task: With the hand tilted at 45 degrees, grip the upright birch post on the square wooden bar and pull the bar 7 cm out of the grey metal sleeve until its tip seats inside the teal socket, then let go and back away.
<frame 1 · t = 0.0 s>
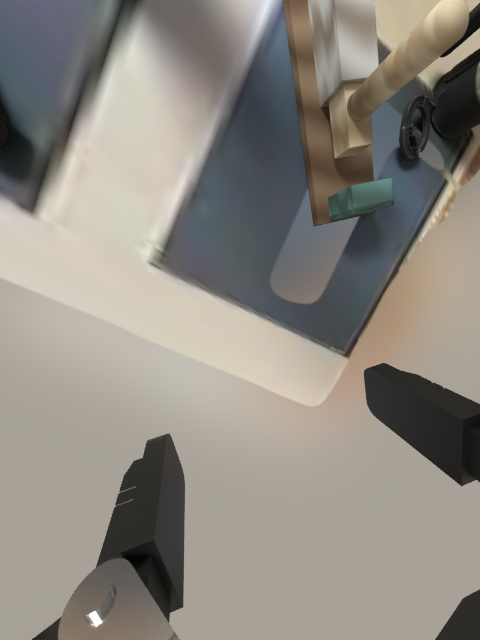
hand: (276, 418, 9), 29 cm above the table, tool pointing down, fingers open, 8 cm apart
milk frother: (431, 120, 39), on the table
wooden bar: (379, 30, 25), point 10 cm above the table, slide at 0.0 cm
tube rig: (330, 115, 35), on the table
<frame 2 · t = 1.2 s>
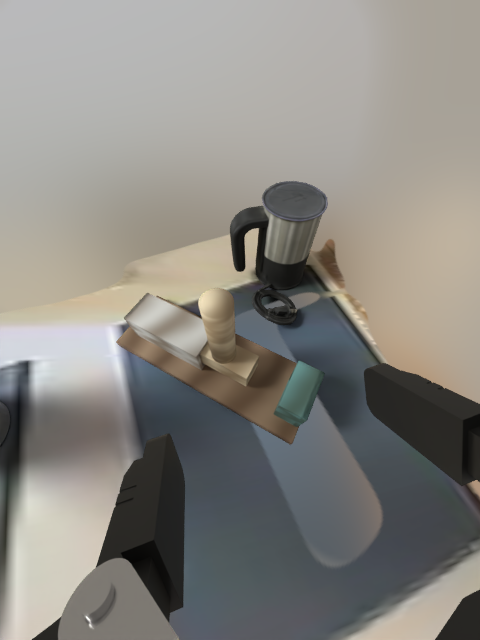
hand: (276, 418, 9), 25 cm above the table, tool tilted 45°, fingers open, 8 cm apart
milk frother: (278, 288, 45), on the table
wooden bar: (188, 321, 29), point 10 cm above the table, slide at 0.0 cm
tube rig: (214, 361, 37), on the table
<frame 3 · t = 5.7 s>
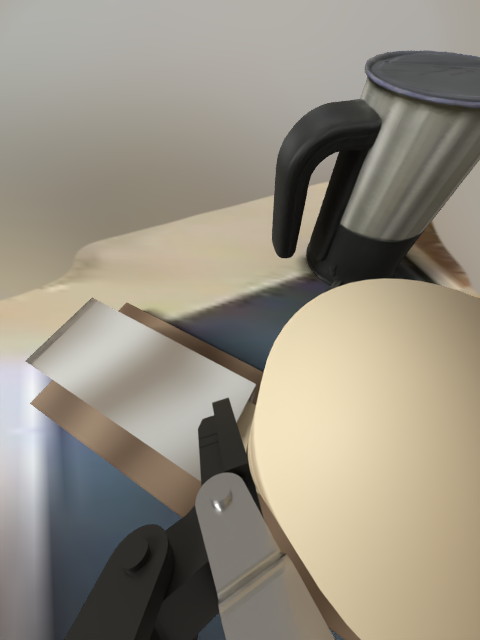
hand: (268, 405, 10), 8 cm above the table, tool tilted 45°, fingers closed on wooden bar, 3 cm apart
milk frother: (350, 290, 24), on the table
wooden bar: (181, 390, 10), point 10 cm above the table, slide at 0.0 cm, touching gripper
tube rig: (242, 445, 17), on the table
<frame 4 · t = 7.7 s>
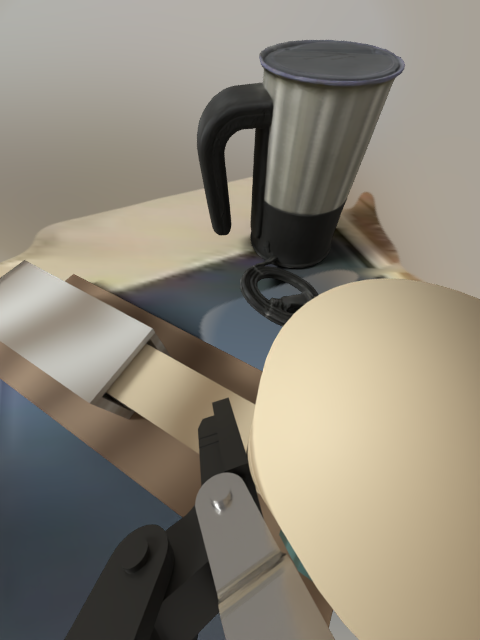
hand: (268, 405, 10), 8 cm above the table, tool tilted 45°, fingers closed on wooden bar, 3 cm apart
milk frother: (288, 267, 26), on the table
wooden bar: (182, 389, 10), point 10 cm above the table, slide at 7.1 cm, touching gripper
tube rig: (163, 396, 19), on the table
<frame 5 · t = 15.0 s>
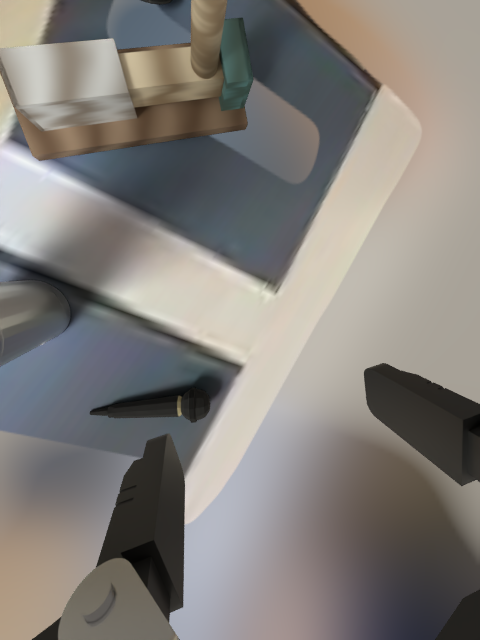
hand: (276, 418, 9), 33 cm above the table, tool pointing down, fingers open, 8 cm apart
wooden bar: (161, 36, 25), point 10 cm above the table, slide at 7.0 cm
microphone: (154, 397, 43), on the table
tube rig: (137, 103, 33), on the table
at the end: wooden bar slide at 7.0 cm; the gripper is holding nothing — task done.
